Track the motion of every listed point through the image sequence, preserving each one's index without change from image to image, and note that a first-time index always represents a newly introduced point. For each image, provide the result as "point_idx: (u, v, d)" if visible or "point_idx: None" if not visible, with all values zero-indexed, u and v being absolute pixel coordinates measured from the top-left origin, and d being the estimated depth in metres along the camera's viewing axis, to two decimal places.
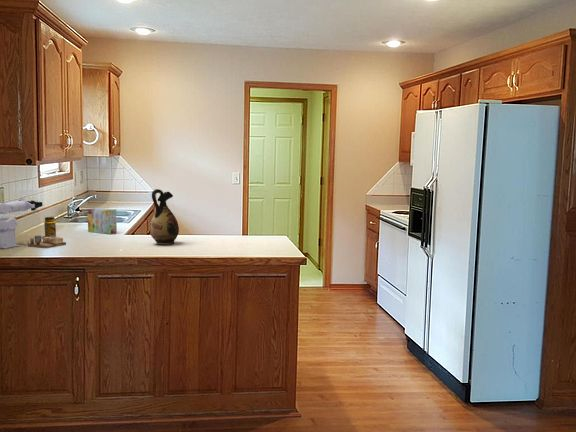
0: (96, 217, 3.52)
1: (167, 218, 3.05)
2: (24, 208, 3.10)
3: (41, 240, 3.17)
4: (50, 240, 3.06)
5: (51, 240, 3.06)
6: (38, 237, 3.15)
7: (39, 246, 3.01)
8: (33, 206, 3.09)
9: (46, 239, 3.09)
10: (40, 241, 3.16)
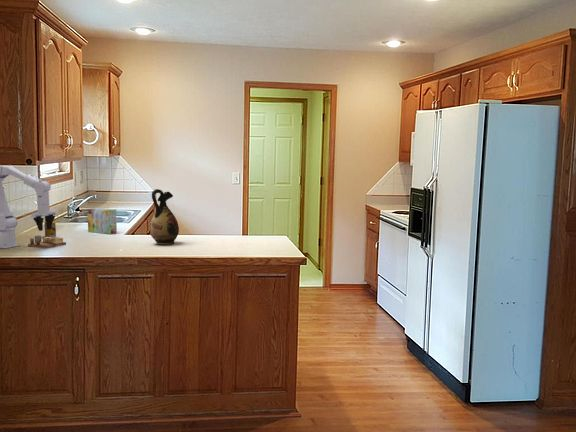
0: (96, 217, 3.52)
1: (167, 218, 3.05)
2: (38, 211, 2.98)
3: (41, 240, 3.17)
4: (50, 240, 3.06)
5: (51, 240, 3.06)
6: (38, 237, 3.15)
7: (39, 246, 3.01)
8: (32, 216, 2.93)
9: (46, 239, 3.09)
10: (40, 241, 3.16)
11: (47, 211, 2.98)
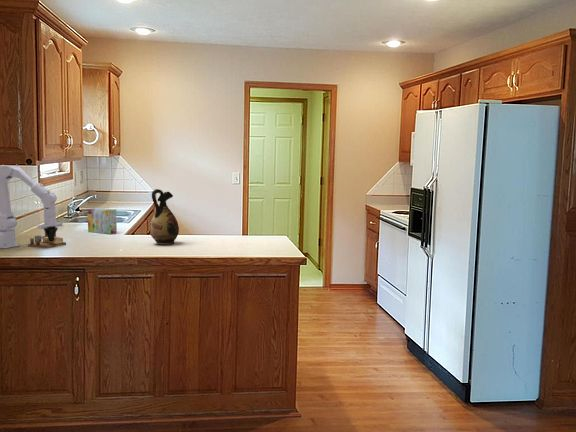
0: (96, 217, 3.52)
1: (167, 218, 3.05)
2: None
3: (41, 240, 3.17)
4: None
5: None
6: (38, 237, 3.15)
7: (39, 246, 3.01)
8: (38, 227, 2.97)
9: (46, 239, 3.09)
10: (40, 241, 3.16)
11: (53, 222, 3.02)
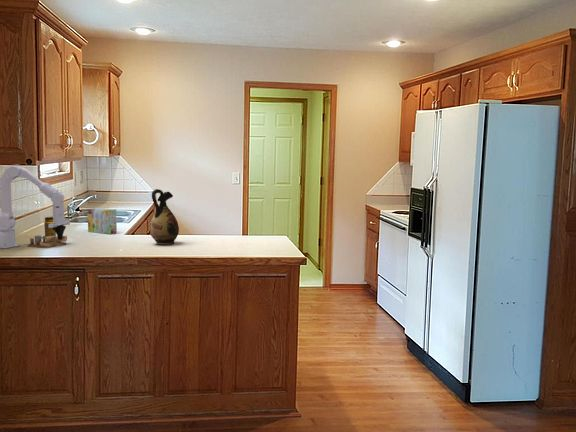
0: (96, 217, 3.52)
1: (167, 218, 3.05)
2: (53, 221, 3.07)
3: (41, 240, 3.17)
4: (58, 239, 3.10)
5: None
6: (38, 237, 3.15)
7: (39, 246, 3.01)
8: (49, 226, 3.02)
9: (49, 238, 3.11)
10: (40, 241, 3.16)
11: (63, 221, 3.08)
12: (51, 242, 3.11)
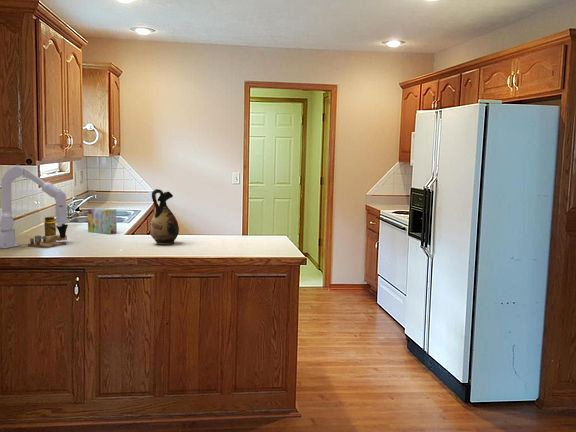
0: (96, 217, 3.52)
1: (167, 218, 3.05)
2: (58, 220, 3.11)
3: (41, 240, 3.17)
4: (60, 237, 3.15)
5: None
6: (38, 237, 3.15)
7: (39, 246, 3.01)
8: (58, 225, 3.07)
9: (50, 238, 3.13)
10: (40, 241, 3.16)
11: None
12: (51, 242, 3.11)
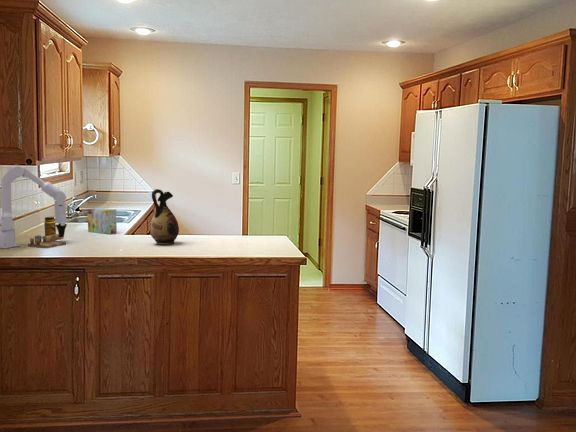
0: (96, 217, 3.52)
1: (167, 218, 3.05)
2: (58, 219, 3.14)
3: (41, 240, 3.17)
4: (58, 237, 3.17)
5: None
6: (38, 237, 3.15)
7: (39, 246, 3.01)
8: (62, 224, 3.11)
9: (50, 238, 3.14)
10: (40, 241, 3.16)
11: None
12: (51, 242, 3.11)
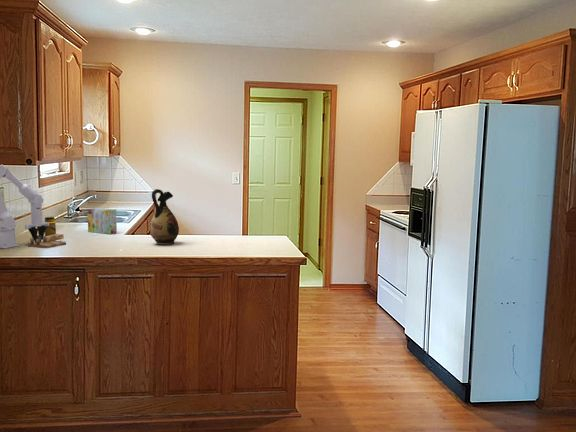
0: (96, 217, 3.52)
1: (167, 218, 3.05)
2: (31, 222, 3.14)
3: (41, 240, 3.17)
4: (58, 237, 3.17)
5: (59, 236, 3.18)
6: (38, 237, 3.15)
7: (39, 246, 3.01)
8: (25, 227, 3.09)
9: (50, 238, 3.14)
10: (40, 241, 3.16)
11: (40, 222, 3.14)
12: (51, 242, 3.11)
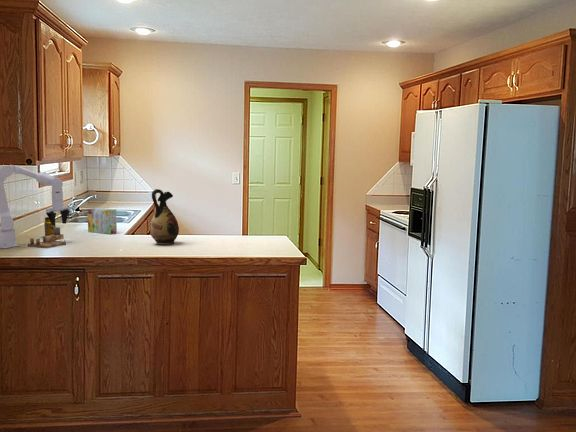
0: (96, 217, 3.52)
1: (167, 218, 3.05)
2: (52, 206, 3.12)
3: None
4: (58, 237, 3.17)
5: (59, 236, 3.18)
6: (57, 229, 3.18)
7: (39, 246, 3.01)
8: (47, 211, 3.08)
9: (50, 238, 3.14)
10: (59, 233, 3.19)
11: (61, 206, 3.13)
12: (51, 242, 3.11)
